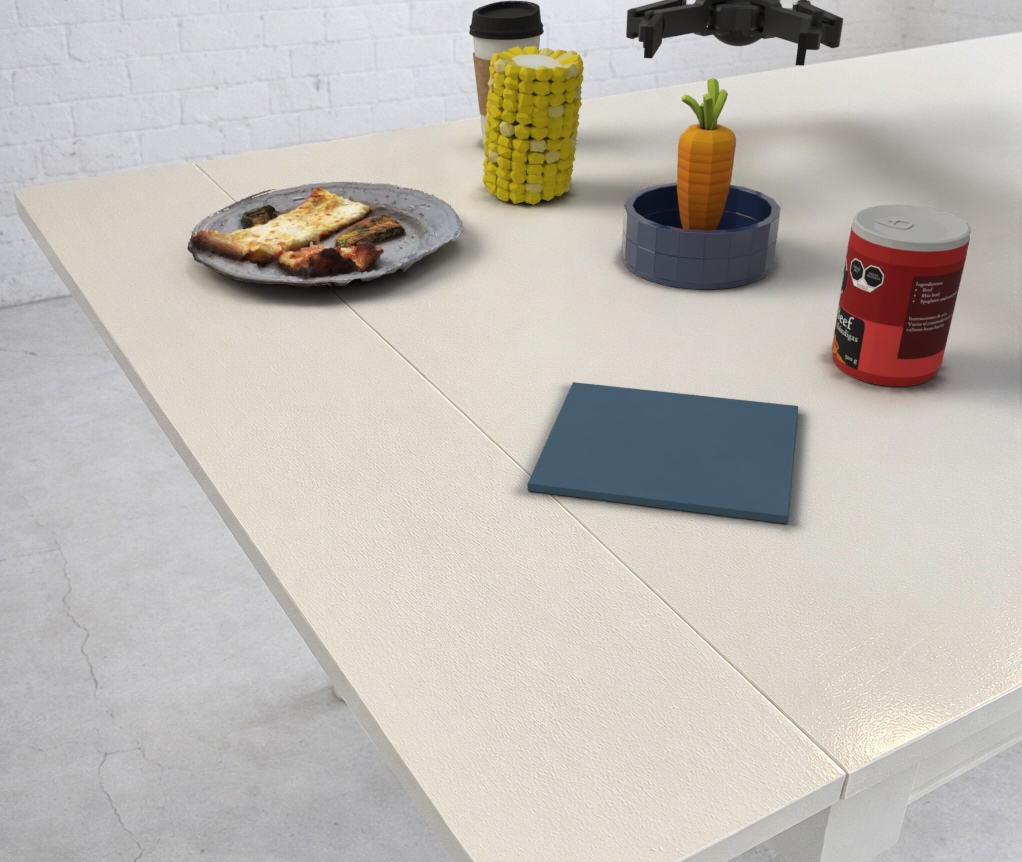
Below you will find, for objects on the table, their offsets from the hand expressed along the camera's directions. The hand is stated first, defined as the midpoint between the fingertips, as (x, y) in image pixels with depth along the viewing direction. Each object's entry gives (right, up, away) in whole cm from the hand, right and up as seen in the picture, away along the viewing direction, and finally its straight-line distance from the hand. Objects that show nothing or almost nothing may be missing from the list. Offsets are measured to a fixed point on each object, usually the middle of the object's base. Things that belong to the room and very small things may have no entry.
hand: (724, 46), depth 101 cm
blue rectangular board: (-9, -38, -26) cm, 47 cm away
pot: (-2, -19, +1) cm, 19 cm away
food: (-17, -8, +18) cm, 26 cm away
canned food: (+9, -31, -16) cm, 36 cm away
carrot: (-2, -19, +1) cm, 19 cm away
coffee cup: (-19, +2, +33) cm, 38 cm away
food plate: (-36, -17, +5) cm, 41 cm away
